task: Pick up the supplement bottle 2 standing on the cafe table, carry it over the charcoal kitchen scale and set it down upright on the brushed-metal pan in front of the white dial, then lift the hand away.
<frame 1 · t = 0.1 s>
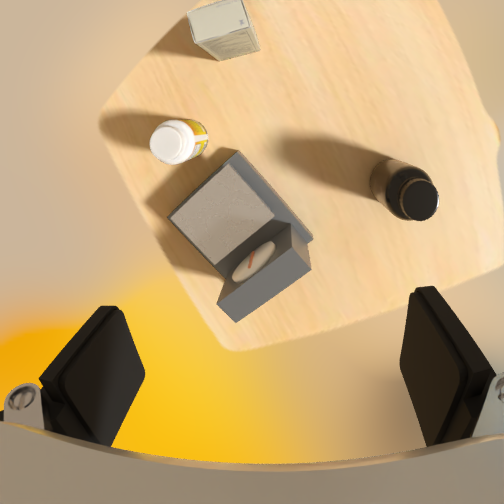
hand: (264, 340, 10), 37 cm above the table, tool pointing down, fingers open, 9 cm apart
skincare box: (235, 44, 38), on the table
scale base: (240, 223, 48), on the table
supplement bottle 2: (190, 138, 44), on the table
scale pan: (222, 214, 44), point 3 cm above the table, slide at -0.5 cm
supplement bottle: (390, 181, 43), on the table
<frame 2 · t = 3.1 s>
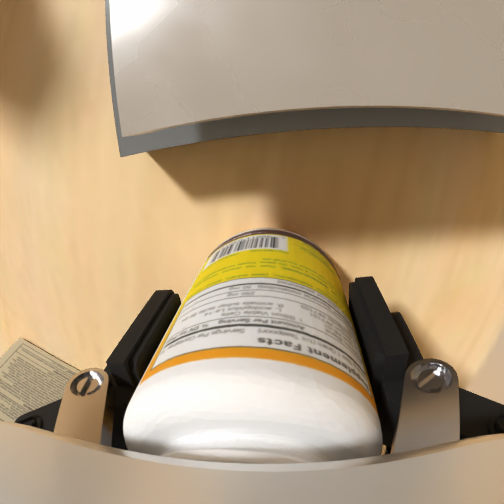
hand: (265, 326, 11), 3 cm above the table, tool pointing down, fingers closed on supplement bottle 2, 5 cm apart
skincare box: (60, 375, 17), on the table
supplement bottle 2: (270, 287, 13), on the table, touching gripper
when the fingers open (9 cm above the table, at t = 7.6 s): supplement bottle 2 drops 2 cm, resting on scale pan.
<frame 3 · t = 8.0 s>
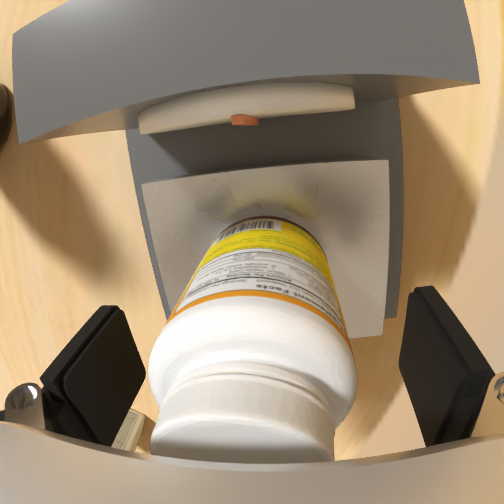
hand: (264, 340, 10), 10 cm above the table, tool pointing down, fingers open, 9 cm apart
skincare box: (118, 411, 28), on the table
scale base: (269, 184, 18), on the table
supplement bottle 2: (267, 266, 15), point 4 cm above the table, touching scale pan
scale pan: (272, 257, 16), point 3 cm above the table, slide at -0.8 cm, touching supplement bottle 2
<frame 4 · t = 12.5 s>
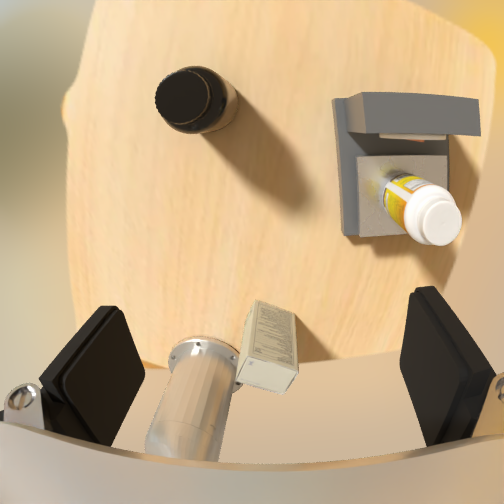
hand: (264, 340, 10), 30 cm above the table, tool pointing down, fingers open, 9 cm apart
skincare box: (270, 316, 45), on the table
scale base: (393, 164, 36), on the table
supplement bottle 2: (403, 196, 33), point 4 cm above the table, touching scale pan
scale pan: (402, 193, 34), point 3 cm above the table, slide at -0.8 cm, touching supplement bottle 2
supplement bottle: (211, 104, 35), on the table
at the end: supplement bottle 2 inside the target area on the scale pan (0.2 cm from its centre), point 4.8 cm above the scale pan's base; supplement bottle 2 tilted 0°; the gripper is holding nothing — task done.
